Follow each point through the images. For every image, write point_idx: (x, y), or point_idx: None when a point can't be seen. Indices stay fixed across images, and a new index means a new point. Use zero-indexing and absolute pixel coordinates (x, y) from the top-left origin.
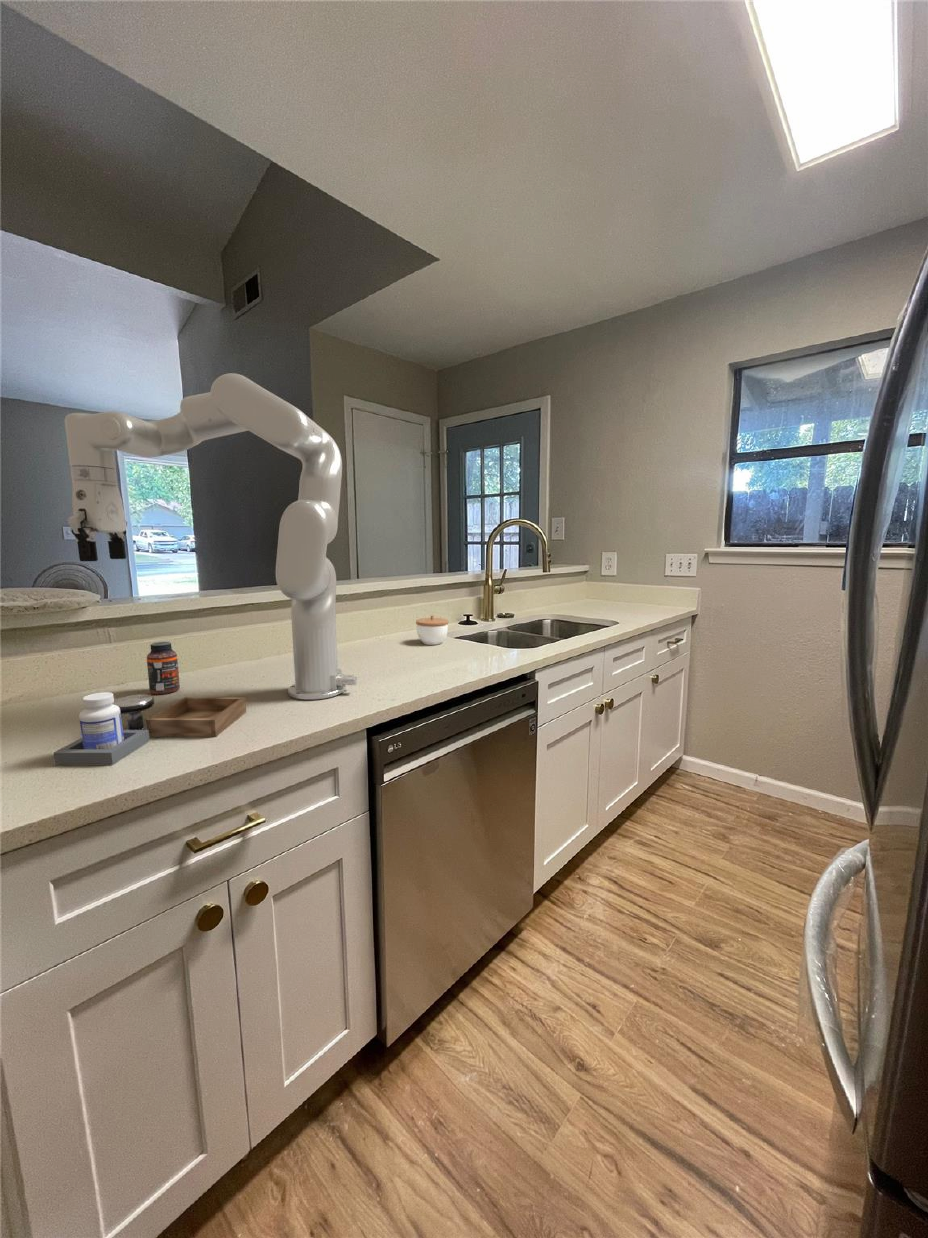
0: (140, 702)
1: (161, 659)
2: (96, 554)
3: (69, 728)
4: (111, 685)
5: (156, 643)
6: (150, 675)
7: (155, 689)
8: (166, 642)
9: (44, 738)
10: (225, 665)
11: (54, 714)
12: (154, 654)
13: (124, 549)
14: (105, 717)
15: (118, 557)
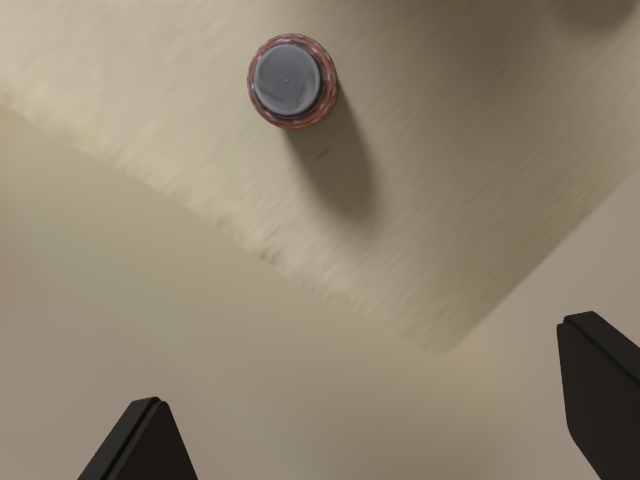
0: None
1: (327, 53)
2: (610, 337)
3: (576, 100)
4: (283, 270)
5: (293, 93)
6: (336, 97)
7: (338, 84)
8: (268, 69)
9: (633, 101)
10: (32, 98)
11: (492, 216)
12: (324, 80)
13: (106, 458)
14: None
15: (178, 441)
